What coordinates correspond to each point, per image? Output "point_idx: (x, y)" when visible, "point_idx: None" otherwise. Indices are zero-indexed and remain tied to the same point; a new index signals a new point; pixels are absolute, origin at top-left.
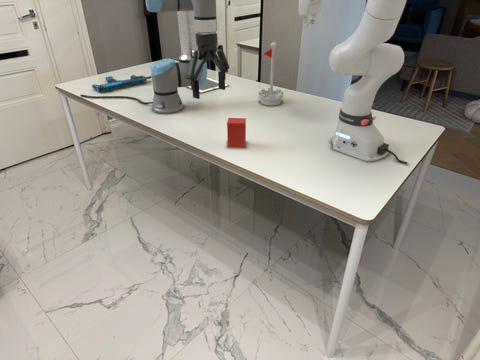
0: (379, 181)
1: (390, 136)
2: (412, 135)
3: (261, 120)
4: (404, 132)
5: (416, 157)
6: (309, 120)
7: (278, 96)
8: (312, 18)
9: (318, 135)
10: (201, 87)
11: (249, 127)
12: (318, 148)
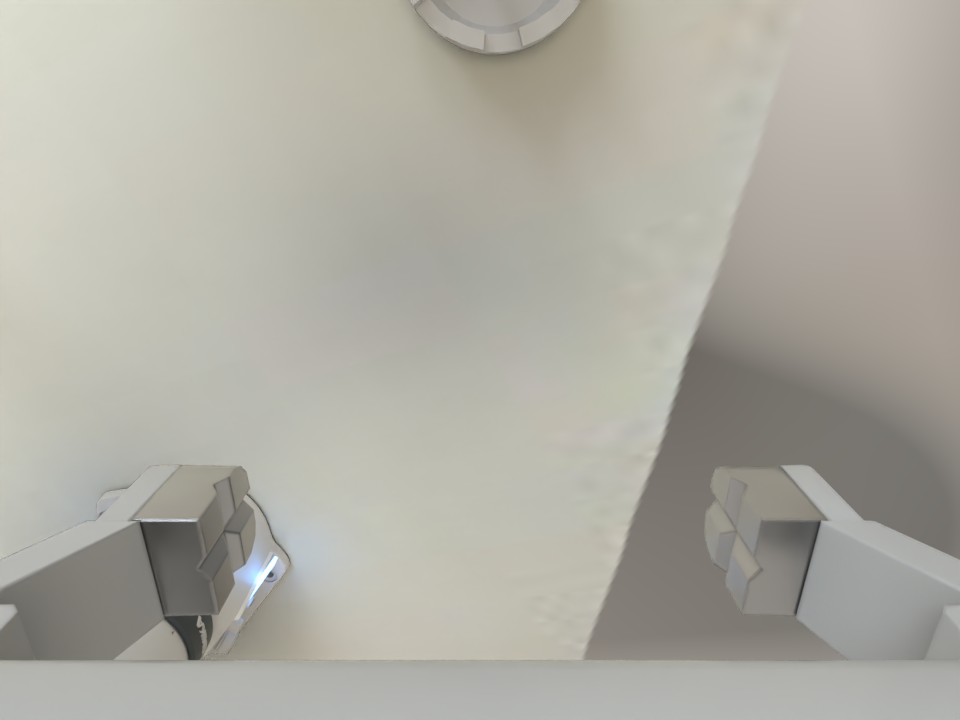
0: None
1: (361, 637)
2: None
3: (158, 52)
4: None
5: None
6: (331, 316)
7: (447, 32)
8: (842, 577)
9: (188, 408)
10: None
11: (18, 30)
12: (70, 443)
